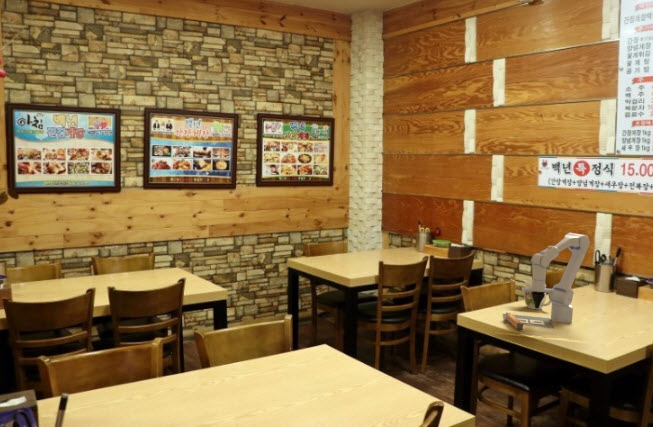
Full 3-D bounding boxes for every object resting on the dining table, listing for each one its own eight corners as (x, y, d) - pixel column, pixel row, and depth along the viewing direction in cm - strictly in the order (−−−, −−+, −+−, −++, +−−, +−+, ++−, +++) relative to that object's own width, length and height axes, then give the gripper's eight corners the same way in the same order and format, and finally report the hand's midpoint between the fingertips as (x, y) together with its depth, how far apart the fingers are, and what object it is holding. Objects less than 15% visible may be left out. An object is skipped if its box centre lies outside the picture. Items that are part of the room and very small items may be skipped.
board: (549, 320, 278) (549, 310, 277) (554, 330, 260) (554, 320, 260) (502, 315, 283) (502, 306, 283) (504, 325, 266) (504, 315, 265)
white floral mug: (544, 313, 289) (546, 287, 288) (514, 305, 304) (516, 280, 303) (557, 311, 296) (559, 285, 294) (527, 303, 310) (529, 278, 309)
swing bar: (506, 319, 269) (507, 314, 268) (512, 319, 269) (512, 314, 268) (517, 329, 252) (518, 324, 252) (523, 330, 252) (524, 324, 252)
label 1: (527, 320, 272) (527, 319, 272) (528, 324, 266) (528, 322, 266) (514, 319, 273) (514, 317, 273) (514, 322, 267) (515, 321, 267)
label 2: (542, 322, 270) (542, 320, 270) (544, 325, 264) (544, 324, 264) (529, 320, 271) (529, 319, 271) (530, 324, 266) (530, 322, 266)
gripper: (551, 278, 269) (549, 306, 271) (520, 276, 270) (518, 304, 272) (556, 281, 262) (554, 310, 264) (525, 279, 263) (522, 308, 265)
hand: (536, 307), depth 267 cm, fingers closed
